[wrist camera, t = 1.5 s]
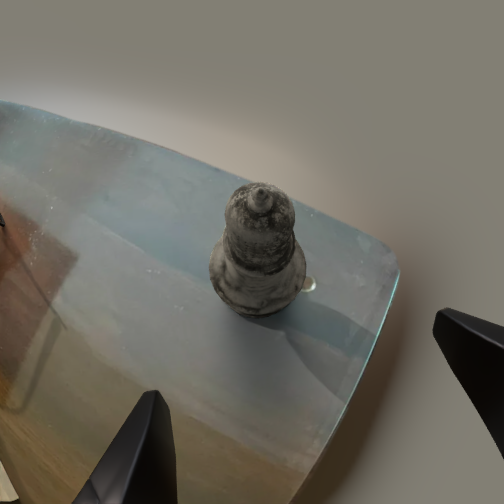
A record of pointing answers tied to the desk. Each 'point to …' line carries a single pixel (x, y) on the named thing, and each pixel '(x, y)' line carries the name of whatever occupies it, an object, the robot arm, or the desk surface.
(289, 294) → the pewter sugar caster
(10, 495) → the stove
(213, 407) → the desk surface
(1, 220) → the eyeglasses
